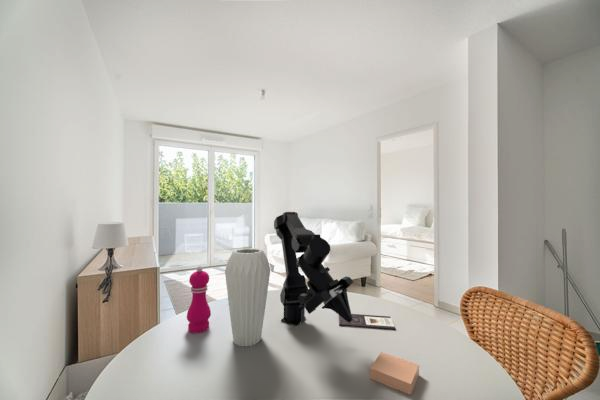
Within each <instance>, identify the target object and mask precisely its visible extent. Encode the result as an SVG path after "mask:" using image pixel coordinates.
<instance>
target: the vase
mask: <svg viewBox="0 0 600 400" xmlns="http://www.w3.org/2000/svg"><path fill="white" fill-rule="evenodd" d="M224 269H225V270H224V275H225V282H226V283H225V285H226V290H227V299H228V300H227V301H228V307H229V308H228V309H229V317H230V327H231V332H232V333H231V334H232V341H233V342H232V343H234V345H235V346H236V345H237V347H240V346H241V347H242V348H243V347H247V348H248V347H249V346H250V347H252V346H253V345H254V346H255V345H256V344H258V343H259V342H261V339H262V333H263V327H264V321H265V320H264V319H265V312H266V311H265V310H266V304H267V296H268V290H269V283H270V275H271V266H270V263H269V259H268V257H267V255H266V253H265V252H264V250H263V249H260V248H241V249H235V250H233V251H232V253H231V254H230V256H229V257H228V260H227V262H226V266H225V268H224Z"/></svg>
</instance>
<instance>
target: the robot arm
mask: <svg viewBox="0 0 600 400" xmlns="http://www.w3.org/2000/svg"><path fill="white" fill-rule="evenodd" d="M273 228H274V230H275V233H276V236H277V237H278V238H279V240H281V245H282V246H281V247H282V254H283V259H284V260H283V261H284V266H285V267H284V268H285V269H284V270H285V275H286V276H285V278H284V279H285V280H284V282H283V284H282V286H283V287H282V288H281V292H280V295H279V297H280V303H281V304H282V306H283V317H282V318H281V320H280V322H283V323H285V324H286V323H287V324H290V325H293V326H298V325H300V324H301V323H302V322H303V321H305V320H306V316H305V314H306V313H305V312H307V314H309V315H310V314H311V313H313V312H314V311H316V310H317V308H318V307H319V306H320V305H322V304H323V306H322V307H321V309H323V310H324V309H329V310H331V311H333V312H335V313H336V314H337V315H338V316H339V315H340V316H341V317H342V318H344V319H345V320H346V321H347V322H351V321H352V320H353V319H352V315H351V314H352V310H351V306H350V303H349V298H348V292H347V291H348V288H349V287H350V286H352V285H353V284H354V280H353V279H352V278H351V277H350V276H346V275H345V276H344V277H343V278H341V279H339V280H338V279H334V278H333V277H332V275H331V274H330V271H331V269H330V268H329V267H328V266H327V267H325V266H324V264H323V262H324V261H325V259H326V258H327V257H328V255H329V254H330V252H331V245H330V244H329V242H328V241H327V240H326V239H325V238H322V237H321V235H320V233H319V234H316V233H315V232H313V231H312V230H310V229H307V228H306V227H305V226H304V223H303V222H302V220H301V219H300V217H299V213H298V212H295V211H285V212H283V213H282V214H281V215H278V216H276V217H275V219H274V221H273ZM299 253H302V254H301V255H300V256H298V257H297V254H299ZM299 268H300V269H301V270H302V271H301V272H303V274H301V272H300V270H299ZM306 278H307V280H308V281H306ZM305 310H306V311H305Z"/></svg>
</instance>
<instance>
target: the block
mask: <svg viewBox="0 0 600 400" xmlns="http://www.w3.org/2000/svg"><path fill="white" fill-rule="evenodd" d="M419 376H420V365H419V364H417V363H414V362H412V361H408V360H405V359H403V358H400V357H397V356H395V355H391V354H388V353H385V352H383V351H381V352H380V353H379V355H378V356H377V357H376V359H375V360H374V361H373V362H372V364H371V366H370V367H369V379H371V380H373V381H375V382H378V383H381V384H383V385H385V386H388V387H390V388H392V389H394V390H397V391H399V390H400V391H399V392H402V391H403V392H402V393H404V392H405V393H404V394H406V393H408V394H407V395H409V394H411V393H413V392H412V391H414V389H415V387H414V386H416V383H417V381H418V378H419ZM411 395H412V394H411Z"/></svg>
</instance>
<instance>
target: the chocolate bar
mask: <svg viewBox="0 0 600 400" xmlns="http://www.w3.org/2000/svg"><path fill="white" fill-rule="evenodd" d="M351 315H352V319H353V320H352V321H351V322H347V321H346V320H345V319H344V318H342V317H341V316H340V315H338V326H339V327H346V328H348V327H349V328H360V329H361V328H362V329H363V328H364V329H375V330H386V331H387V330H389V331H396V330H397V329H396V327H395V325H394V322H393V320H392V318H391V316H390V315H389V316H387V315H373V314H372V315H371V314H358V313H351Z"/></svg>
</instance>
